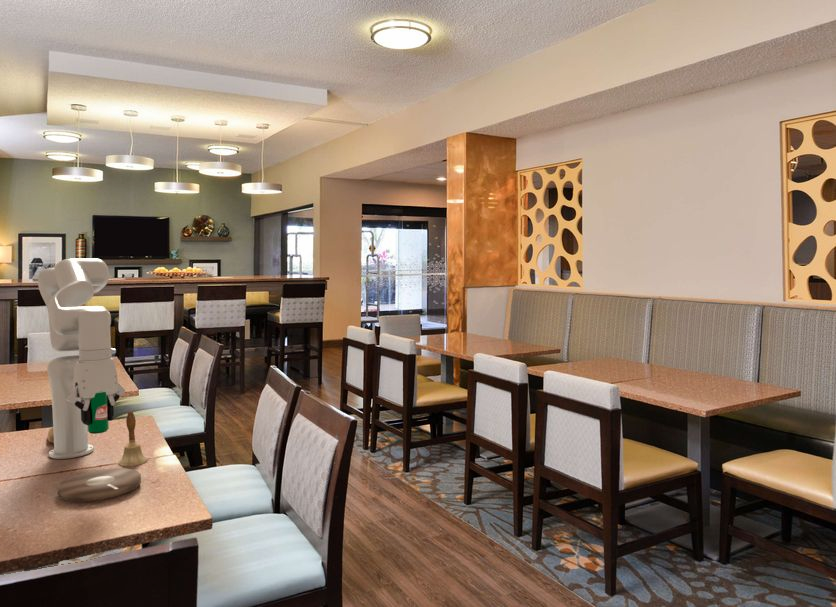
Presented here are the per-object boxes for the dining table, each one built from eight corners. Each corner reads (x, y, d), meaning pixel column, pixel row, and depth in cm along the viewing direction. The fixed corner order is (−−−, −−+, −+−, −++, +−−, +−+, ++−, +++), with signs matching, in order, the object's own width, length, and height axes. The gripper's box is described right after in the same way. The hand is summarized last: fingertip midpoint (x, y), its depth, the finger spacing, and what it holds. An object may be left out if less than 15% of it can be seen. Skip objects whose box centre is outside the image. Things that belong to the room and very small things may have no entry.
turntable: (44, 488, 161) (44, 483, 161) (119, 468, 177) (119, 463, 177) (77, 507, 149) (77, 501, 149) (155, 484, 165) (154, 478, 165)
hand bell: (136, 467, 181) (134, 415, 180) (111, 465, 183) (110, 414, 182) (153, 458, 190) (151, 408, 188) (130, 456, 191) (128, 407, 190)
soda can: (98, 435, 159) (96, 390, 158) (83, 433, 160) (81, 389, 159) (113, 429, 164) (111, 386, 163) (98, 428, 165) (96, 385, 164)
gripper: (120, 350, 170) (122, 413, 171) (54, 357, 156) (57, 426, 157) (133, 352, 165) (136, 417, 166) (67, 360, 151) (70, 431, 153)
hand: (97, 421), depth 162 cm, fingers closed on soda can, 5 cm apart
